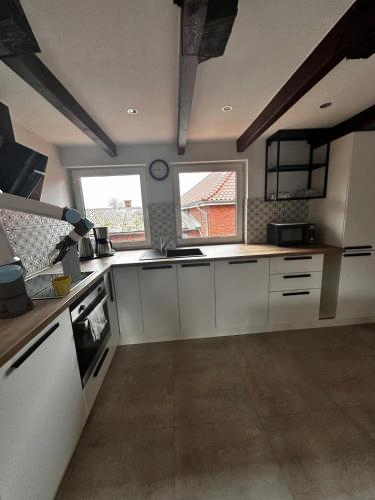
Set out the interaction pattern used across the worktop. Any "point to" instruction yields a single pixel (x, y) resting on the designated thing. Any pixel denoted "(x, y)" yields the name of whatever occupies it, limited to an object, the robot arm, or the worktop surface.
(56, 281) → the plant pot
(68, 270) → the stand
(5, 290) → the robot arm
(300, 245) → the worktop surface
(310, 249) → the worktop surface
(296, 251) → the worktop surface
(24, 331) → the worktop surface
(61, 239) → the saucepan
